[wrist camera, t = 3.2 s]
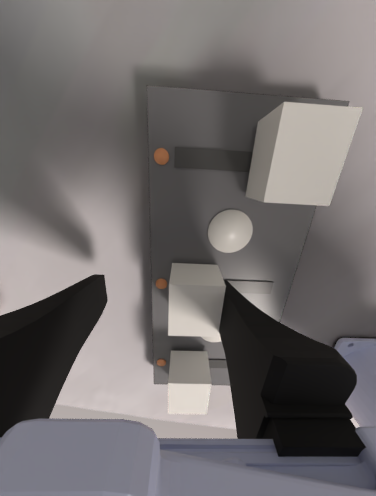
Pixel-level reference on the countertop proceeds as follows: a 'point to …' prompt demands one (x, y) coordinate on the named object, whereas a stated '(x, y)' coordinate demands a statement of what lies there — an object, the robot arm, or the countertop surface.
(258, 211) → the switch panel
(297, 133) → the switch
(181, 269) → the switch
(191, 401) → the switch
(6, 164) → the countertop surface
